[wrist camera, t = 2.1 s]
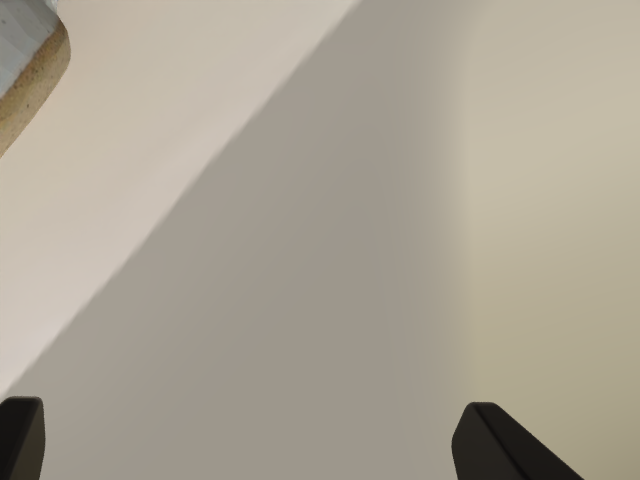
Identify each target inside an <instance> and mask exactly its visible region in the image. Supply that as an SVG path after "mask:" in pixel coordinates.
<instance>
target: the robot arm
mask: <svg viewBox="0 0 640 480" xmlns="http://www.w3.org/2000/svg"><path fill="white" fill-rule="evenodd" d="M451 447H452V454H453V459H454V464H455V468H456V473H457V477H458V480H584V479H583V478H582V477H580V476H579V475H578V474H577V473H576V472H575V471H574V470H572V469H571V468H570V467H569V466H568V465H566V463H564V462H563V461H562V460H561V459H560V458H558V457H557V456H556V455H555V454H554V453H553V452H552V451H550V450H549V449H548V448H547V447H546V446H545V445H543V444H542V443H541V442H540V441H539V440H538V439H537V438H535V437H534V436H533V435H532V434H531V433H529V431H527V430H526V429H525V428H524V427H523V426H521V425H520V424H519V423H518V422H517V421H516V420H515V419H513V418H512V417H511V416H510V415H509V414H508V413H506V412H505V411H504V410H503V409H502V408H500V407H499V406H498V405H497V404H495V403H492V402H472V403H470V404H468V405H467V406H466V408H465V410H464V412H463V414H462V417H461V419H460V421H459V423H458V426H457V428H456V430H455V432H454V435H453V438H452V446H451ZM44 451H45V424H44V409H43V402H42V400H41V398H39V397H31V396H30V397H29V396H12V397H9V398H7V399H5V400H4V401H3V402H2V403H1V404H0V480H39V478H40V472H41V468H42V462H43V458H44Z"/></svg>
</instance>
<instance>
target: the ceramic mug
mask: <svg viewBox="0 0 640 480" xmlns="http://www.w3.org/2000/svg"><path fill="white" fill-rule="evenodd" d="M57 1H58V0H0V158H1V157H2V155H3V154H4V153H5V152H6V151H7V149H8V148H9V147H10V146H11V144H12V143H13V142H14V141H15V140H16V138H17V137H18V136H19V135H20V133H21V132H22V131H23V130H24V128H25V127H26V126H27V125H28V124H29V122H30V121H31V120H32V119H33V117H34V116H35V114H36V113H37V112H38V110H39V109H40V108H41V106H42V105H43V103H44V102H45V101H46V99H47V98H48V97H49V95H50V94H51V92H52V91H53V89H54V88H55V86H56V85H57V84H58V82H59V80H60V79H61V77H62V76H63V74H64V72H65V71H66V69H67V67H68V64H69V61H70V53H71V49H70V43H69V37H68V32H67V30H66V28H65V26H64V25H63V23H62V22H61V20H60V18H59V17H58V15H57Z"/></svg>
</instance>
